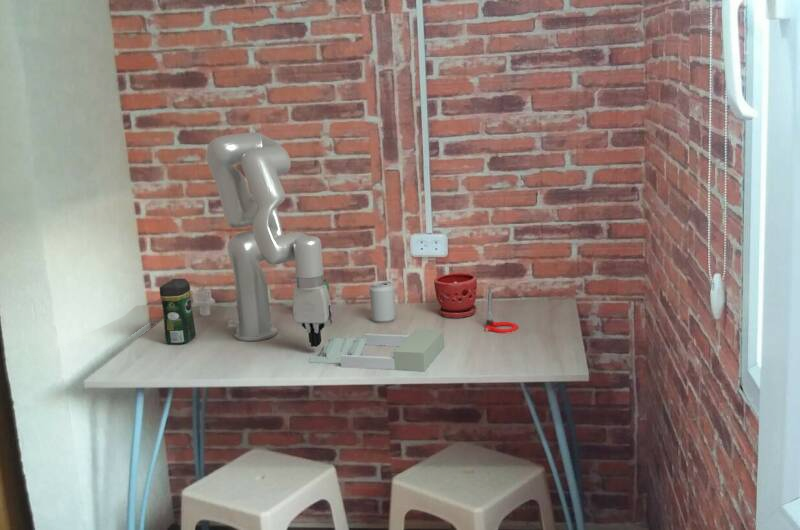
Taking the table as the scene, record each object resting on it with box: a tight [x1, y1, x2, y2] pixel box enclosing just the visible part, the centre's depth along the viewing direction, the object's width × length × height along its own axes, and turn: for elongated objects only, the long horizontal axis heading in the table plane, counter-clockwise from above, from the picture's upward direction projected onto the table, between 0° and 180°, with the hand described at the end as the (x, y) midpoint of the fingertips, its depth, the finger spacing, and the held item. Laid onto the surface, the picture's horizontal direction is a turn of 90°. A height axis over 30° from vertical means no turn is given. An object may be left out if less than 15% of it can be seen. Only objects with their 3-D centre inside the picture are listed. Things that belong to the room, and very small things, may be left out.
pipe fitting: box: [192, 288, 216, 317], centre depth 299 cm, size 6×7×8 cm
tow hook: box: [484, 285, 519, 334], centre depth 264 cm, size 8×13×9 cm
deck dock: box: [340, 328, 445, 372], centre depth 246 cm, size 23×20×5 cm
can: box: [369, 280, 397, 324], centre depth 280 cm, size 8×8×12 cm
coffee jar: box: [159, 278, 197, 346], centre depth 270 cm, size 10×8×19 cm
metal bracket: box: [309, 334, 367, 365], centre depth 249 cm, size 14×6×15 cm
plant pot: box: [433, 272, 478, 319], centre depth 282 cm, size 13×13×12 cm
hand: (315, 345), depth 253 cm, fingers closed
